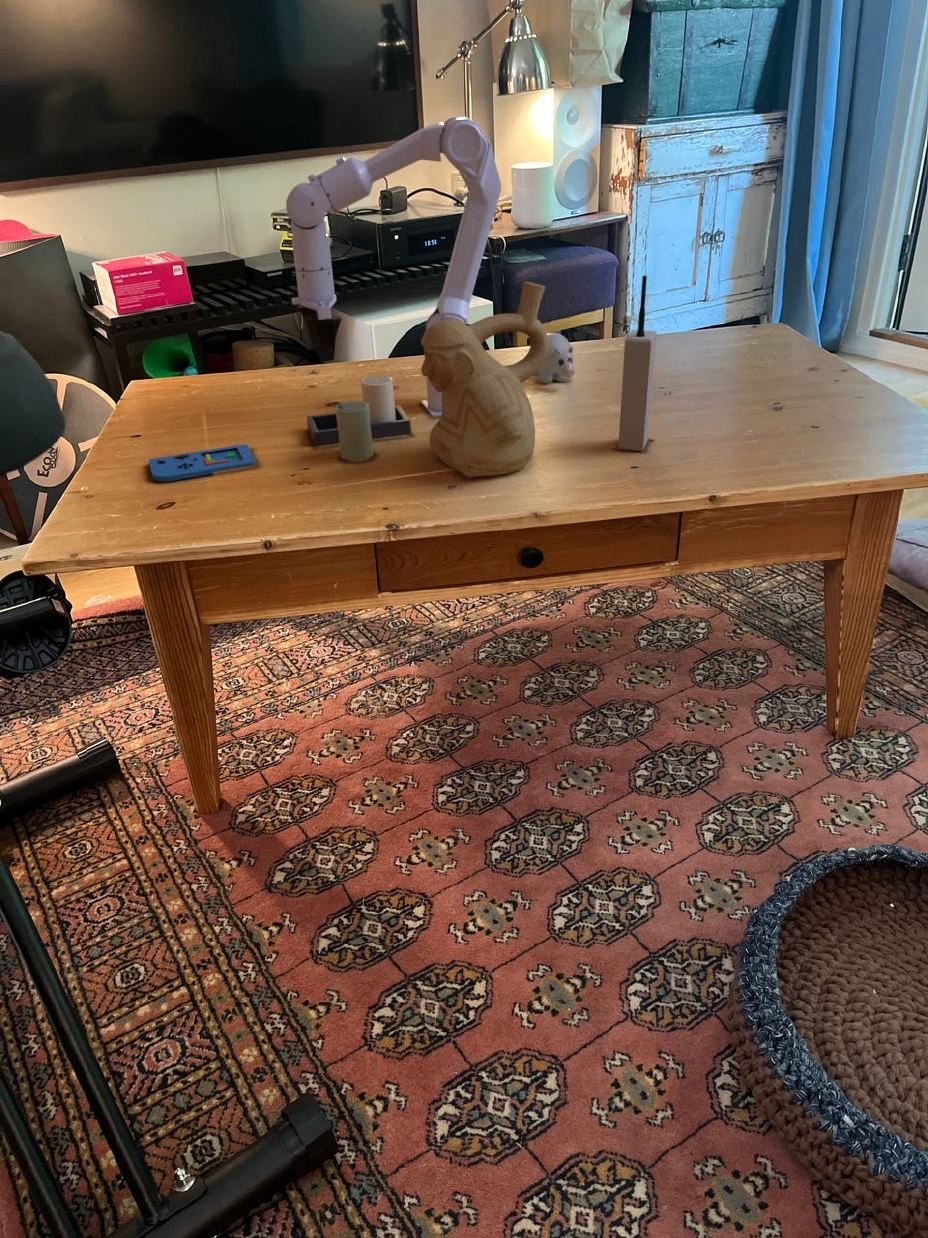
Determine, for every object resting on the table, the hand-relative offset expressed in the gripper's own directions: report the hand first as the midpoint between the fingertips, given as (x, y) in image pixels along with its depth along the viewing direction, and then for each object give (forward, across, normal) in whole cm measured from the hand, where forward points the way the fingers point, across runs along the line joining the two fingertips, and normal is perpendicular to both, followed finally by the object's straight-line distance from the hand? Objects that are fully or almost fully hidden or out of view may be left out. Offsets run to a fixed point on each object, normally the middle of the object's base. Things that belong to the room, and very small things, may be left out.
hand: (323, 354), depth 149 cm
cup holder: (+10, +11, +3) cm, 15 cm away
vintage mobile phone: (+11, +31, +42) cm, 53 cm away
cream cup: (+10, +11, +7) cm, 16 cm away
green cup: (+10, +20, +1) cm, 23 cm away
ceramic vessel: (+11, +30, +19) cm, 37 cm away
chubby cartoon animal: (+11, -2, +42) cm, 43 cm away
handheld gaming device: (+10, +16, -22) cm, 29 cm away
